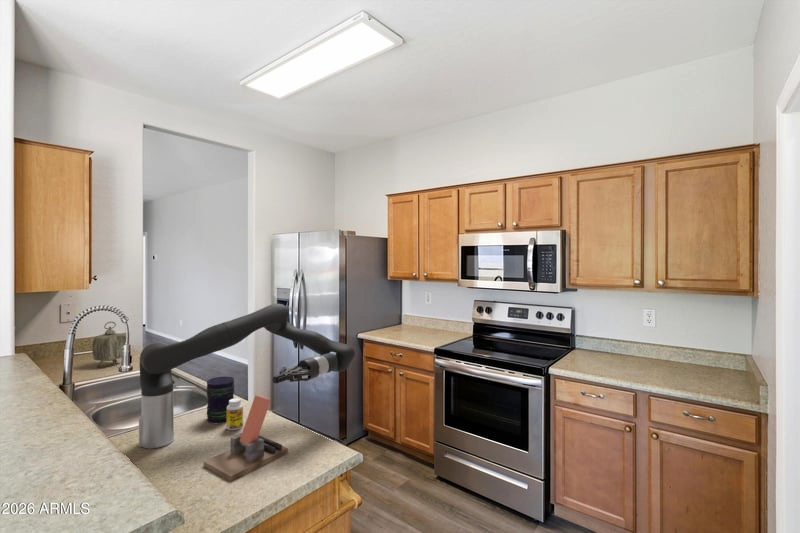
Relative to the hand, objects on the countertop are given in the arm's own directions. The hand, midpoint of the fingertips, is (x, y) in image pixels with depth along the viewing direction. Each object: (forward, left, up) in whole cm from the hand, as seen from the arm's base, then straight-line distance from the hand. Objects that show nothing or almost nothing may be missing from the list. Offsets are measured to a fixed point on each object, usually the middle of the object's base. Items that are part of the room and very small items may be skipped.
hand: (274, 380), depth 132 cm
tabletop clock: (-114, +107, -22) cm, 158 cm away
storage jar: (-26, +25, -22) cm, 42 cm away
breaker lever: (-7, -8, -17) cm, 20 cm away
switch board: (-7, -8, -22) cm, 24 cm away
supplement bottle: (-18, +16, -22) cm, 33 cm away
